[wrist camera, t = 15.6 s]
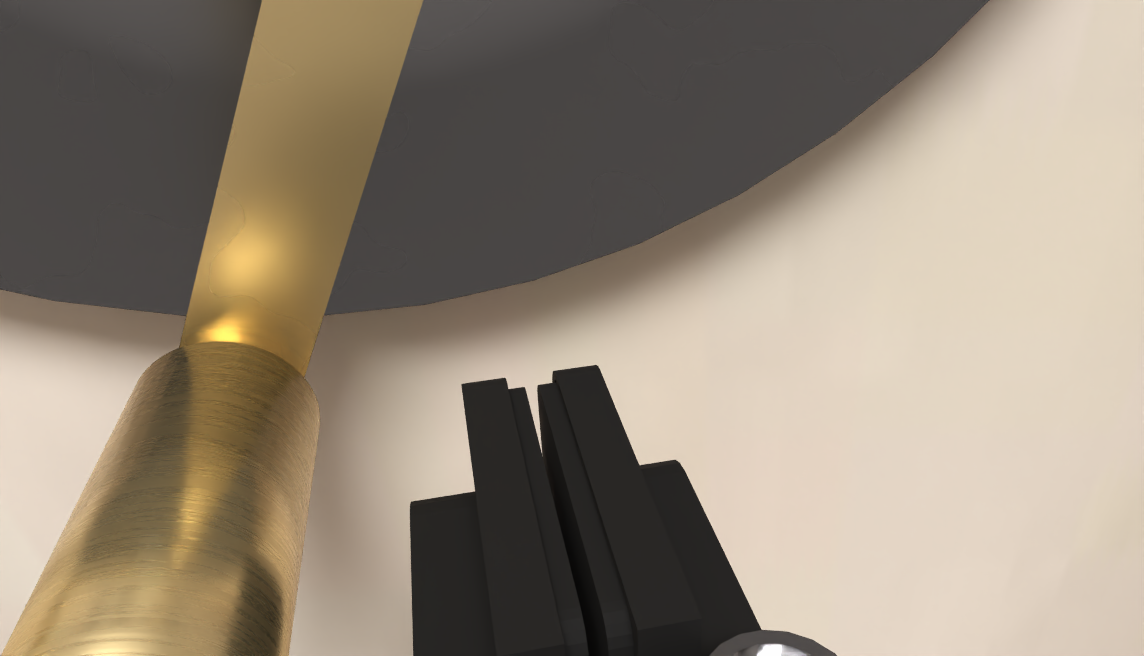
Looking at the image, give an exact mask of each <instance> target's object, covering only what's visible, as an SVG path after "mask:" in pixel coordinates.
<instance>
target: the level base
mask: <svg viewBox="0 0 1144 656" xmlns="http://www.w3.org/2000/svg"><path fill="white" fill-rule="evenodd" d="M988 1H989V0H423V3H422V6H421V9H420V12H419V15H418V18H417V22H416V25H415V28H414V31H413V34H412V37H411V41H410V44H409V47H408V50H407V53H406V56H405V60H404V63H403V66H402V69H401V72H400V75H399V79H398V82H397V85H396V88H395V91H394V95H393V98H392V101H391V104H390V107H389V110H388V114H387V117H386V120H385V123H384V126H383V129H382V133H381V136H380V139H379V142H378V145H377V148H376V152H375V155H374V158H373V161H372V164H371V167H370V171H369V174H368V177H367V180H366V183H365V186H364V190H363V193H362V196H361V199H360V202H359V205H358V209H357V212H356V215H355V218H354V221H353V224H352V228H351V231H350V234H349V237H348V240H347V243H346V247H345V250H344V253H343V256H342V259H341V262H340V266H339V269H338V272H337V275H336V278H335V281H334V285H333V288H332V291H331V294H330V297H329V300H328V304H327V307H326V310H325V313H324V315H331V314H341V313H350V312H360V311H369V310H379V309H389V308H398V307H408V306H417V305H426V304H430V303H435V302H439V301H444V300H448V299H453V298H457V297H462V296H466V295H471V294H475V293H480V292H484V291H488V290H493V289H497V288H502V287H506V286H511V285H515V284H520V283H524V282H529V281H533V280H536V279H539V278H542V277H545V276H548V275H551V274H554V273H556V272H559V271H562V270H565V269H568V268H571V267H574V266H576V265H579V264H582V263H585V262H588V261H591V260H594V259H596V258H599V257H602V256H605V255H608V254H611V253H614V252H617V251H619V250H622V249H625V248H628V247H631V246H634V245H637V244H639V243H641V242H643V241H645V240H647V239H649V238H651V237H653V236H655V235H658V234H660V233H662V232H664V231H666V230H668V229H670V228H672V227H674V226H676V225H678V224H680V223H682V222H684V221H686V220H688V219H690V218H693V217H695V216H697V215H699V214H701V213H703V212H705V211H707V210H709V209H711V208H713V207H715V206H717V205H719V204H721V203H723V202H725V201H728V200H730V199H732V198H734V197H736V196H738V195H740V194H741V193H743V192H744V191H746V190H747V189H749V188H751V187H752V186H754V185H755V184H757V183H758V182H760V181H762V180H763V179H765V178H766V177H768V176H769V175H771V174H773V173H774V172H776V171H777V170H779V169H781V168H782V167H784V166H785V165H787V164H788V163H790V162H792V161H793V160H795V159H796V158H798V157H799V156H801V155H803V154H804V153H806V152H807V151H809V150H810V149H812V148H814V147H815V146H817V145H818V144H820V143H821V142H823V141H825V140H826V139H828V138H829V137H831V136H832V135H834V134H836V133H837V132H838V131H840V130H841V129H842V128H843V127H845V126H846V125H847V124H848V123H850V122H851V121H852V120H853V119H855V118H856V117H857V116H858V115H860V114H861V113H862V112H863V111H865V110H866V109H867V108H868V107H870V106H871V105H872V104H873V103H875V102H876V101H877V100H878V99H880V98H881V97H882V96H883V95H885V94H886V93H887V92H888V91H890V90H891V89H892V88H893V87H895V86H896V85H897V84H898V83H900V82H901V81H902V80H903V79H905V78H906V77H907V76H908V75H910V74H911V73H912V72H913V71H915V70H916V69H917V68H918V67H920V66H921V65H922V64H923V63H925V62H926V61H927V60H928V59H930V58H931V57H932V56H933V55H934V54H935V53H936V52H937V51H938V50H939V49H940V48H941V47H942V46H943V45H944V44H945V43H946V42H947V41H948V40H949V39H950V38H951V37H952V36H953V35H954V34H956V33H957V32H958V31H959V30H960V29H961V28H962V27H963V26H964V25H965V24H966V23H967V22H968V21H969V20H970V19H971V18H972V17H973V16H974V15H975V14H976V13H977V12H978V11H979V10H980V9H981V8H982V7H983V6H984V5H985V4H986V3H987V2H988ZM261 3H262V0H0V289H2V290H6V291H11V292H15V293H20V294H25V295H29V296H34V297H39V298H43V299H48V300H52V301H60V302H69V303H77V304H86V305H95V306H104V307H113V308H121V309H130V310H139V311H148V312H157V313H165V314H174V315H183V316H187V312H188V308H189V304H190V300H191V296H192V291H193V287H194V283H195V279H196V275H197V270H198V266H199V262H200V258H201V254H202V250H203V245H204V241H205V237H206V233H207V229H208V224H209V220H210V216H211V212H212V208H213V204H214V199H215V195H216V191H217V187H218V183H219V179H220V174H221V170H222V166H223V162H224V158H225V153H226V149H227V145H228V141H229V137H230V133H231V128H232V124H233V120H234V116H235V112H236V107H237V103H238V99H239V95H240V91H241V87H242V82H243V78H244V74H245V70H246V66H247V61H248V57H249V53H250V49H251V45H252V41H253V36H254V32H255V28H256V24H257V20H258V15H259V11H260V7H261Z"/></svg>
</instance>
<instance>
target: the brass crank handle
mask: <svg viewBox="0 0 1144 656" xmlns="http://www.w3.org/2000/svg"><path fill="white" fill-rule="evenodd" d="M422 3H423V0H262V3H261V7H260V11H259V15H258V20H257V24H256V28H255V32H254V36H253V41H252V45H251V49H250V53H249V57H248V61H247V66H246V70H245V74H244V78H243V82H242V87H241V91H240V95H239V99H238V103H237V107H236V112H235V116H234V120H233V124H232V128H231V133H230V137H229V141H228V145H227V149H226V153H225V158H224V162H223V166H222V170H221V174H220V179H219V183H218V187H217V191H216V195H215V199H214V204H213V208H212V212H211V216H210V220H209V224H208V229H207V233H206V237H205V241H204V245H203V250H202V254H201V258H200V262H199V266H198V270H197V275H196V279H195V283H194V287H193V291H192V296H191V300H190V304H189V308H188V312H187V316H186V321H185V325H184V329H183V333H182V337H181V342H180V346H179V348H178V349H176V350H173V351H171V352H169V353H167V354H166V355H164V356H162V357H161V358H159V359H158V360H157V361H155V362H154V363H153V364H152V365H151V366H150V367H148V368H147V369H146V370H145V372H144V373H143V374H142V376H141V377H140V378H139V380H138V382H137V384H136V386H135V388H134V390H133V392H132V394H131V396H130V398H129V400H128V402H127V404H126V406H125V408H124V410H123V412H122V414H121V416H120V418H119V420H118V422H117V424H116V426H115V428H114V430H113V432H112V434H111V436H110V438H109V440H108V442H107V444H106V446H105V448H104V450H103V452H102V454H101V456H100V458H99V460H98V462H97V464H96V466H95V468H94V470H93V472H92V474H91V476H90V478H89V480H88V482H87V484H86V486H85V488H84V490H83V492H82V494H81V496H80V498H79V500H78V502H77V504H76V506H75V508H74V510H73V512H72V514H71V516H70V518H69V520H68V522H67V524H66V526H65V528H64V530H63V532H62V534H61V536H60V538H59V540H58V542H57V544H56V546H55V548H54V550H53V552H52V554H51V556H50V558H49V560H48V562H47V564H46V566H45V568H44V570H43V572H42V574H41V576H40V578H39V580H38V582H37V584H36V586H35V588H34V590H33V592H32V595H31V597H30V599H29V601H28V603H27V605H26V607H25V609H24V611H23V613H22V615H21V617H20V619H19V621H18V623H17V625H16V627H15V629H14V631H13V633H12V635H11V637H10V639H9V641H8V643H7V645H6V647H5V649H4V651H3V653H2V655H1V656H289V649H290V642H291V634H292V627H293V620H294V612H295V605H296V597H297V590H298V583H299V575H300V568H301V561H302V553H303V546H304V538H305V531H306V524H307V516H308V509H309V502H310V494H311V487H312V479H313V472H314V465H315V457H316V450H317V443H318V435H319V428H320V411H319V406H318V402H317V399H316V397H315V394H314V392H313V390H312V388H311V387H310V385H309V384H308V382H307V381H306V379H305V378H304V376H305V373H306V370H307V367H308V364H309V361H310V357H311V354H312V351H313V348H314V345H315V342H316V338H317V335H318V332H319V329H320V326H321V323H322V319H323V316H324V313H325V310H326V307H327V304H328V300H329V297H330V294H331V291H332V288H333V285H334V281H335V278H336V275H337V272H338V269H339V266H340V262H341V259H342V256H343V253H344V250H345V247H346V243H347V240H348V237H349V234H350V231H351V228H352V224H353V221H354V218H355V215H356V212H357V209H358V205H359V202H360V199H361V196H362V193H363V190H364V186H365V183H366V180H367V177H368V174H369V171H370V167H371V164H372V161H373V158H374V155H375V152H376V148H377V145H378V142H379V139H380V136H381V133H382V129H383V126H384V123H385V120H386V117H387V114H388V110H389V107H390V104H391V101H392V98H393V95H394V91H395V88H396V85H397V82H398V79H399V75H400V72H401V69H402V66H403V63H404V60H405V56H406V53H407V50H408V47H409V44H410V41H411V37H412V34H413V31H414V28H415V25H416V22H417V18H418V15H419V12H420V9H421V6H422Z"/></svg>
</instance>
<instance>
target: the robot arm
mask: <svg viewBox="0 0 1144 656" xmlns="http://www.w3.org/2000/svg"><path fill="white" fill-rule="evenodd" d="M552 382H553V383H549V384H542V385H538V387H537V392H538V406H539V418H540V430H541V443H542V453H541V449H540V445H539V441H538V437H537V433H536V429H535V425H534V421H533V417H532V413H531V409H530V405H529V401H528V397H527V393H526V390H525V387H521V388H514V389H508V385H507V381H506V378H500V379H493V380H486V381H479V382H472V383H465V384H461V385H462V393H463V400H464V408H465V416H466V423H467V431H468V439H469V447H470V454H471V462H472V470H473V477H474V485H475V492H469V493H463V494H457V495H450V496H444V497H438V498H432V499H425V500H419V501H413V502H411V504H410V536H411V577H412V618H413V656H837V655H836V654H835V653H833V652H832V651H830V650H828V649H827V648H825V647H823V646H822V645H820V644H818V643H817V642H815V641H814V640H812V639H808V638H805V637H802V636H799V635H796V634H793V633H790V632H784V631H771V630H761V628H760V626H759V624H758V622H757V619H756V617H755V615H754V613H753V611H752V609H751V607H750V605H749V603H748V601H747V599H746V597H745V595H744V593H743V590H742V588H741V586H740V584H739V582H738V580H737V578H736V576H735V574H734V572H733V570H732V568H731V566H730V564H729V561H728V559H727V557H726V555H725V553H724V551H723V549H722V547H721V545H720V543H719V541H718V539H717V537H716V535H715V532H714V530H713V528H712V526H711V524H710V522H709V520H708V518H707V516H706V514H705V512H704V510H703V508H702V506H701V503H700V501H699V499H698V497H697V495H696V493H695V491H694V489H693V487H692V485H691V483H690V481H689V479H688V477H687V474H686V472H685V471H684V469H683V467H682V466H681V464H680V463H679V462H678V461H676V460H670V461H664V462H658V463H652V464H645V465H639V464H638V461H637V459H636V456H635V454H634V452H633V449H632V447H631V444H630V442H629V439H628V437H627V434H626V432H625V430H624V427H623V425H622V422H621V420H620V417H619V415H618V413H617V410H616V408H615V405H614V403H613V400H612V398H611V396H610V393H609V391H608V388H607V386H606V383H605V381H604V378H603V376H602V374H601V371H600V369H599V367H598V366H597V365H593V366H586V367H579V368H571V369H564V370H557V371H553V376H552ZM542 455H543V457H542Z"/></svg>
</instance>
